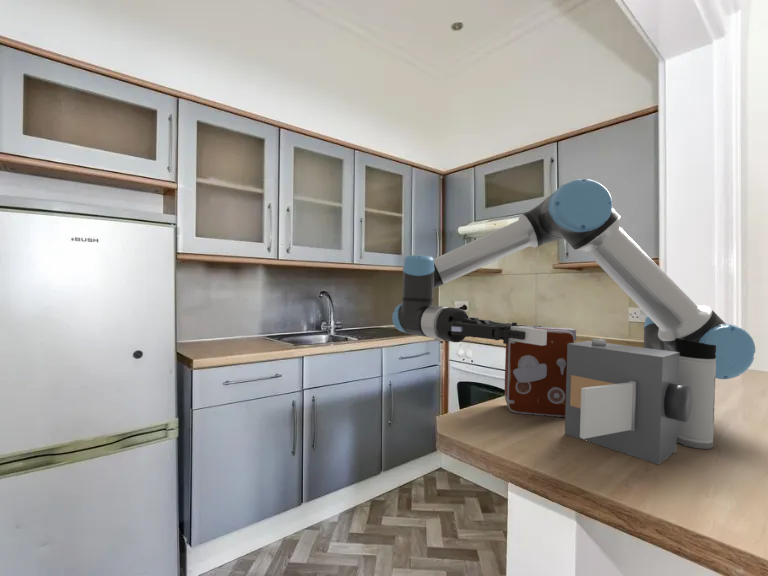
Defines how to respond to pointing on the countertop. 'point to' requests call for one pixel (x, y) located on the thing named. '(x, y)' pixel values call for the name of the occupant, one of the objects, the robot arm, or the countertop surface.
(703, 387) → the travel mug
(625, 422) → the side door
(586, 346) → the box
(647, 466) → the countertop surface
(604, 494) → the countertop surface
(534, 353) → the red printed tin
